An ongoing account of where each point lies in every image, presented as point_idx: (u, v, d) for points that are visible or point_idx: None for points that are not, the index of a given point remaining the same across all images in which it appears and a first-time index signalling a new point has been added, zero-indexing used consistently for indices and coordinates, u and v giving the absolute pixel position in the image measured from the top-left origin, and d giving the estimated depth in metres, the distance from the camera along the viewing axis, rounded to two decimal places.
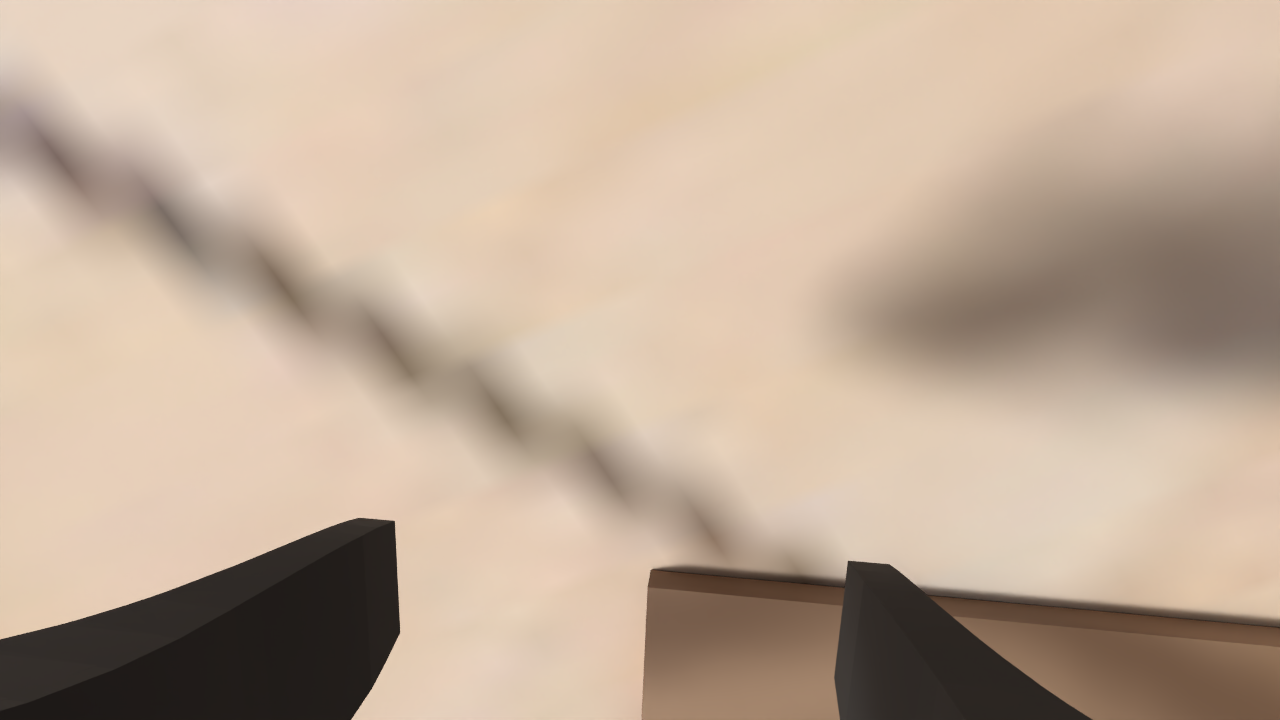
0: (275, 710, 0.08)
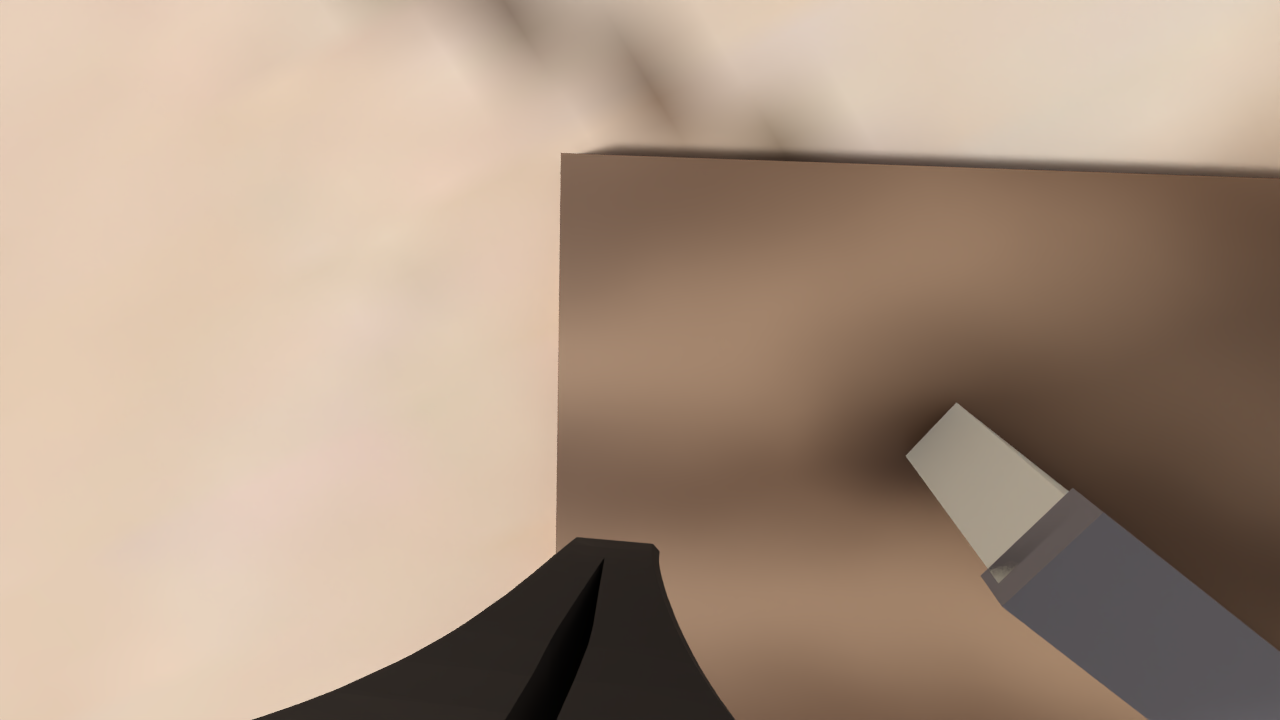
0: None
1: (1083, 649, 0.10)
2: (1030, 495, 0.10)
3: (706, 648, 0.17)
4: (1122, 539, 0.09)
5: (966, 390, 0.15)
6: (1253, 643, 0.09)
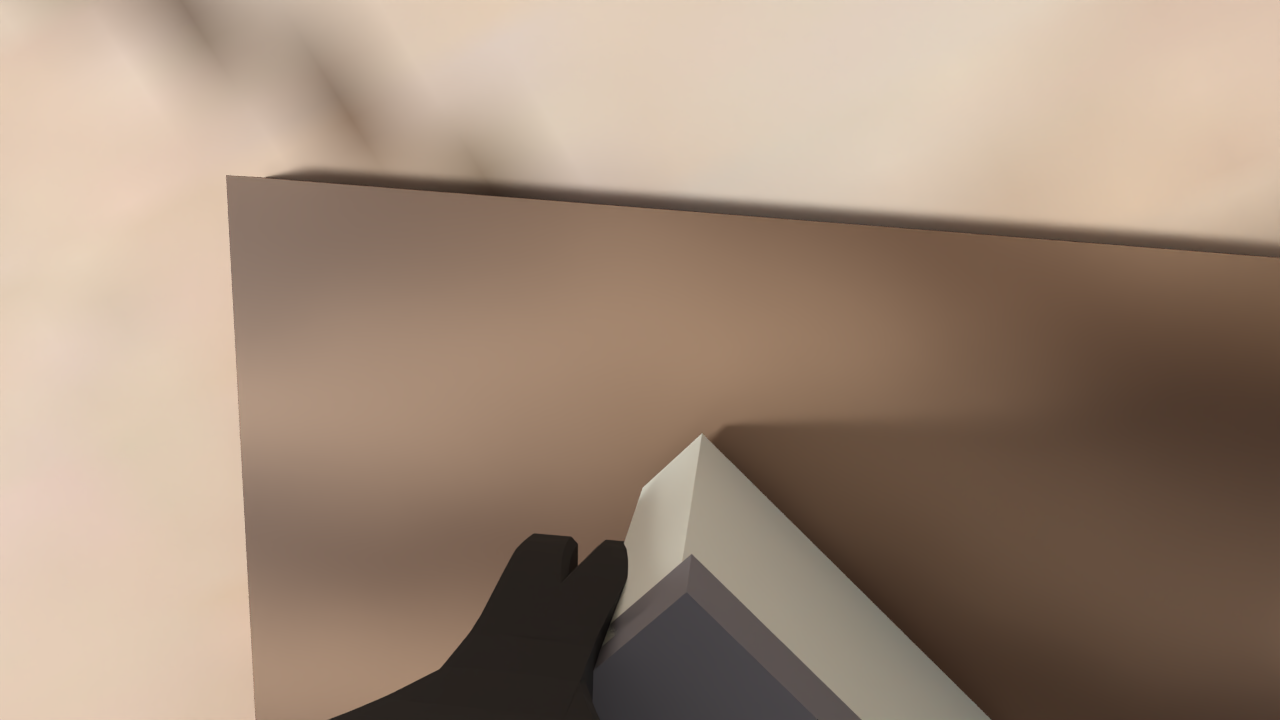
0: None
1: None
2: (666, 555, 0.08)
3: None
4: (709, 629, 0.07)
5: None
6: None
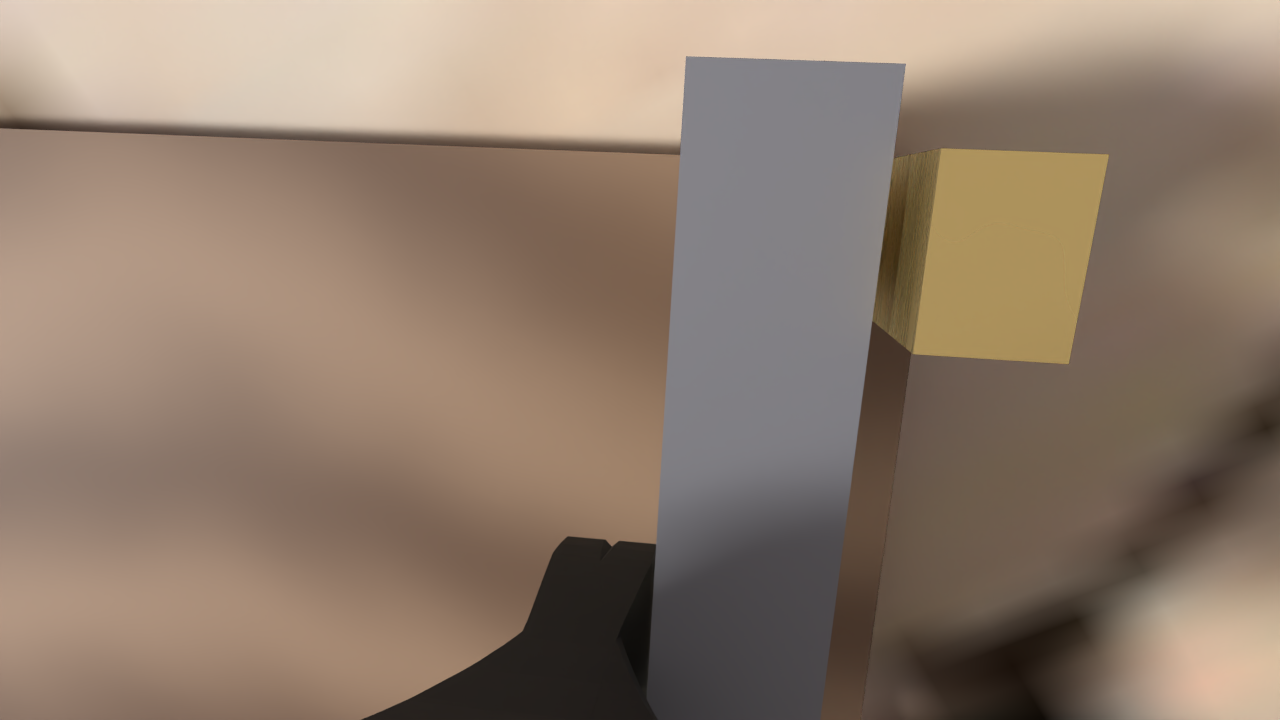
0: None
1: (701, 207, 0.06)
2: None
3: (17, 651, 0.16)
4: (884, 119, 0.06)
5: (193, 376, 0.14)
6: (851, 382, 0.06)
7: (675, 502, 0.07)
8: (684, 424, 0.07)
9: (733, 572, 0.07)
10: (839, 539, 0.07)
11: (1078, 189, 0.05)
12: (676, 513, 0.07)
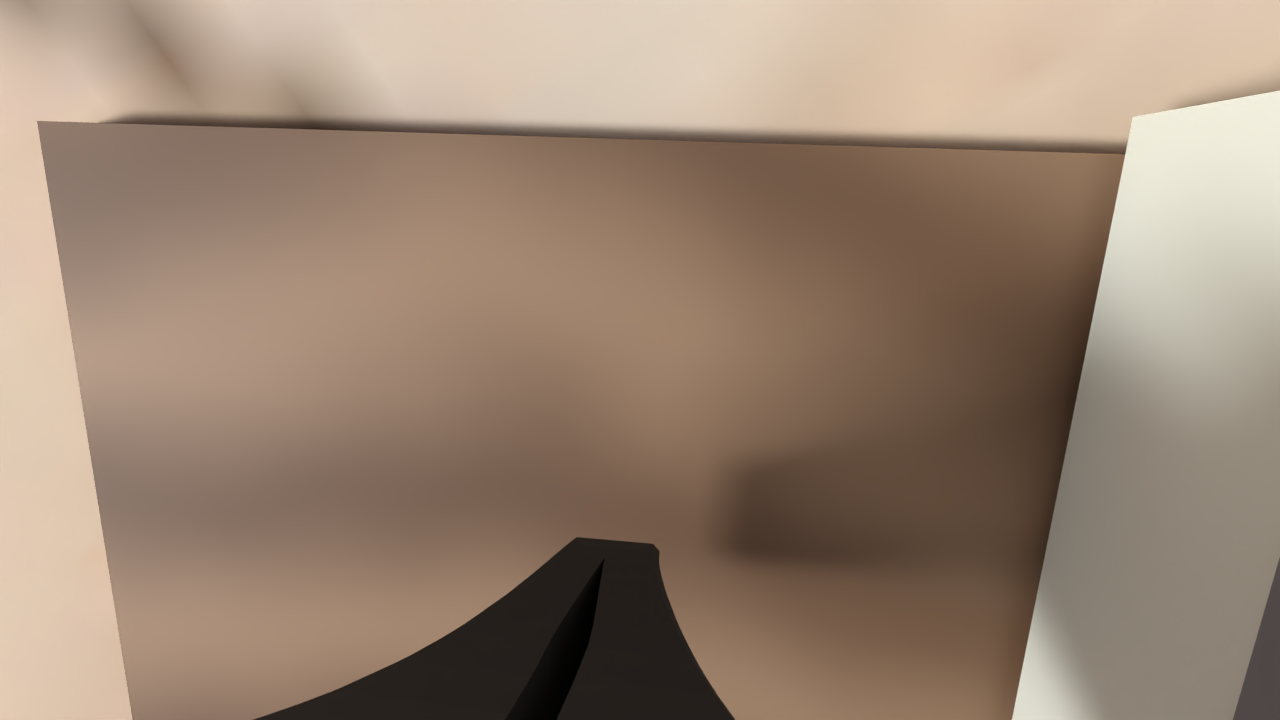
0: None
1: None
2: None
3: (282, 677, 0.15)
4: None
5: (507, 389, 0.13)
6: None
7: None
8: None
9: None
10: None
11: None
12: None
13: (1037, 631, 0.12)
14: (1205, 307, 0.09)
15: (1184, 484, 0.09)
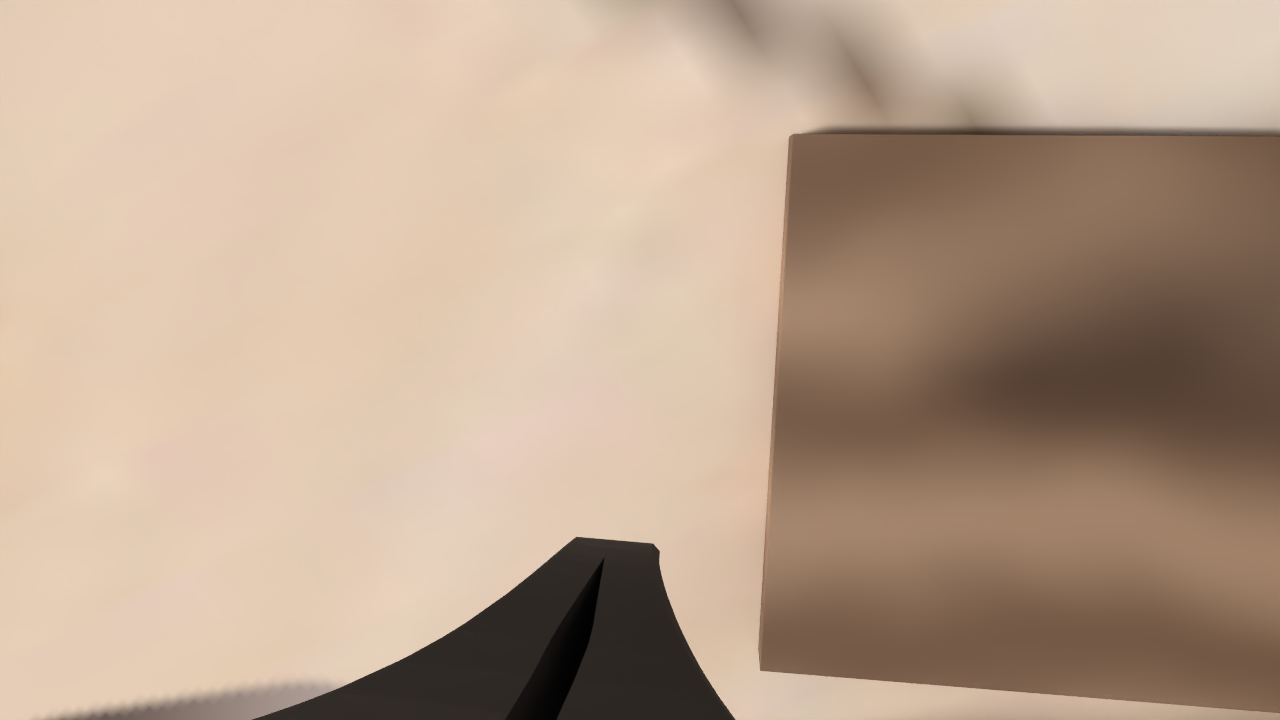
0: None
1: None
2: None
3: (903, 561, 0.19)
4: None
5: (1141, 326, 0.17)
6: None
7: None
8: None
9: None
10: None
11: None
12: None
13: None
14: None
15: None
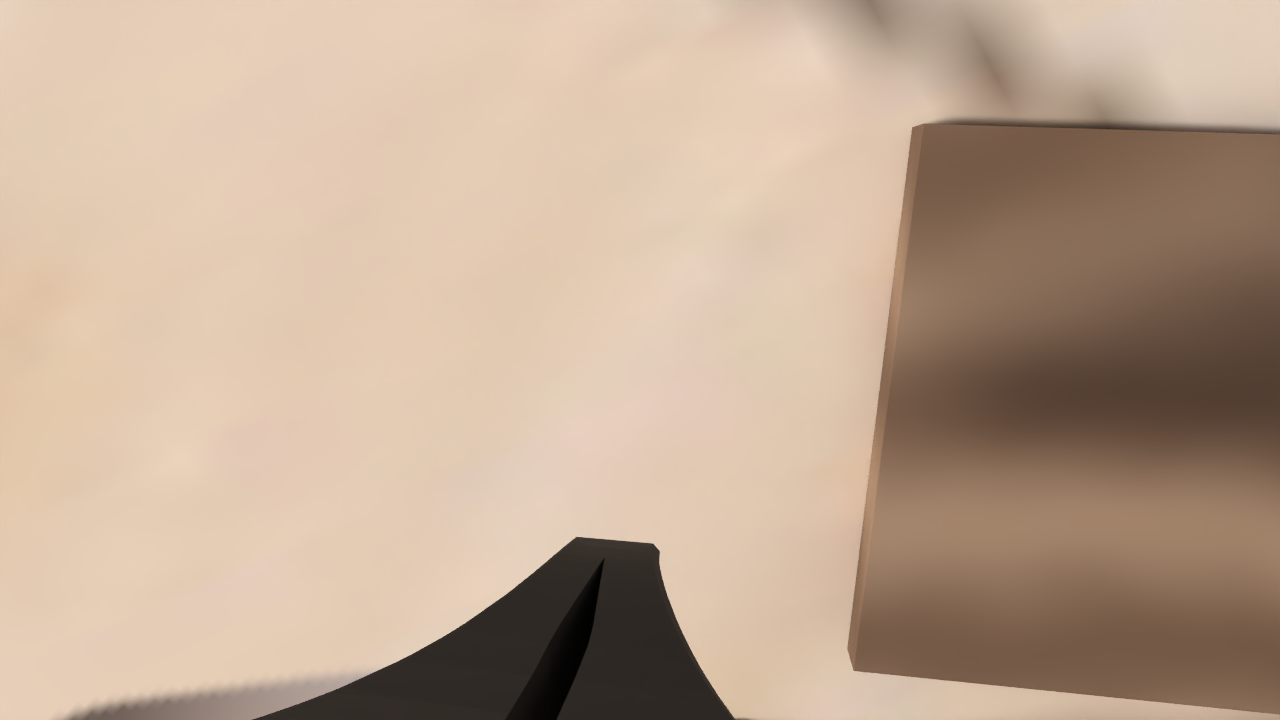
0: None
1: None
2: None
3: (1008, 563, 0.19)
4: None
5: (1270, 330, 0.17)
6: None
7: None
8: None
9: None
10: None
11: None
12: None
13: None
14: None
15: None
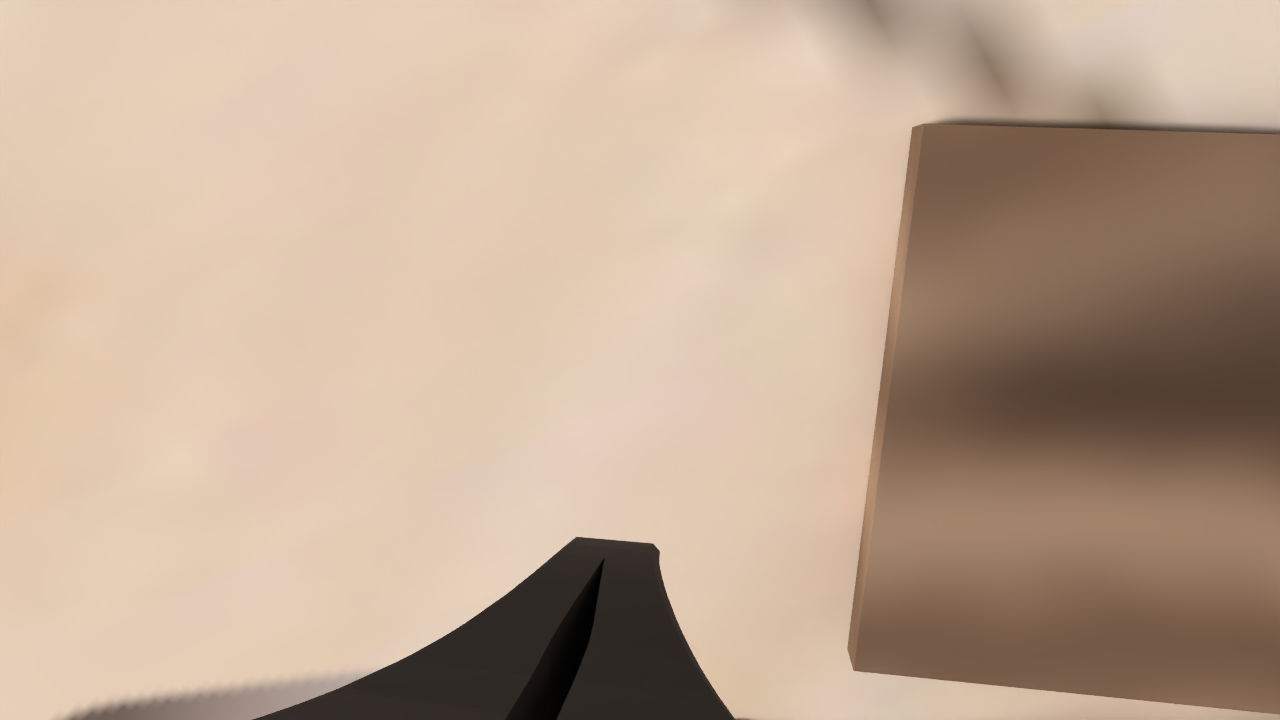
0: None
1: None
2: None
3: (1008, 563, 0.19)
4: None
5: (1270, 330, 0.17)
6: None
7: None
8: None
9: None
10: None
11: None
12: None
13: None
14: None
15: None
